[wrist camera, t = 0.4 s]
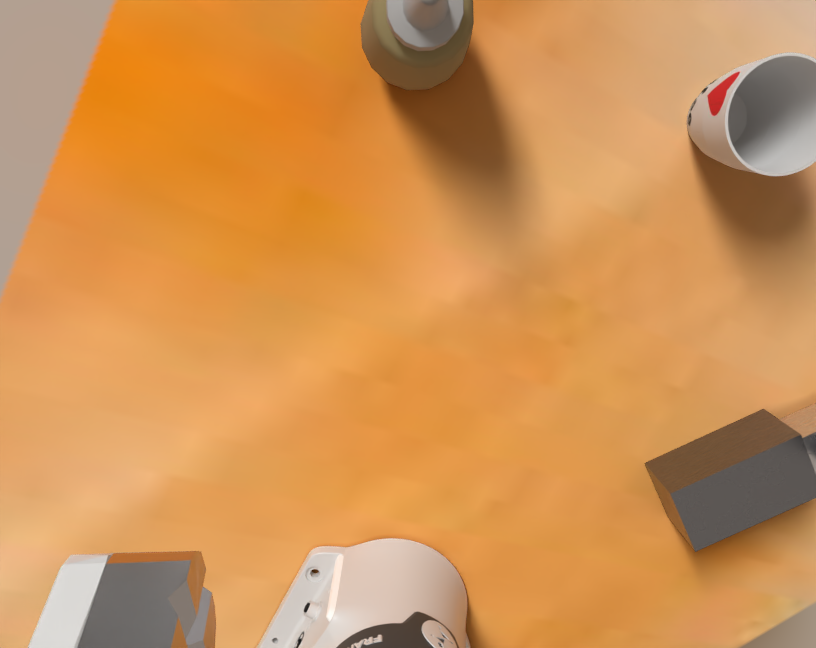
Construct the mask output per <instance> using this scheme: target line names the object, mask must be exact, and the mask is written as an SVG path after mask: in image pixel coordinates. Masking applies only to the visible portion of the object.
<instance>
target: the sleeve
mask: <svg viewBox="0 0 816 648" xmlns="http://www.w3.org/2000/svg"><path fill="white" fill-rule="evenodd" d="M645 466H646V468H647V470H648V472H649V475H650V477H651V479H652V482H653V484H654V486H655V488H656V491H657V493H658V495H659V498H660V500H661V502H662V505H663V507H664V509H665V511H666V514H667V516H668V518H669V519H670V520H671V521H672V523H673V524H674V525H675V527H676V528H677V529H678V530H679V532H680V533H681V534H682V535H683V537H684V538H685V539H686V541H687V542H688V543H689V544H690V546H691V547H692V548H693V549H694V551H695V552H696V551H698V550H700V549H702V548H705V547H707V546H709V545H711V544H714V543H716V542H718V541H720V540H722V539H725V538H727V537H729V536H731V535H734V534H736V533H738V532H740V531H743V530H745V529H747V528H749V527H752V526H754V525H756V524H758V523H761V522H763V521H765V520H767V519H770V518H772V517H774V516H776V515H778V514H781V513H783V512H785V511H787V510H790V509H792V508H794V507H796V506H799V505H801V504H803V503H805V502H808V501H810V500H812V499H814V498H816V473H815V470H814V468H813V465H812V462H811V460H810V457H809V454H808V452H807V449H806V446H805V444H804V441H803V438H802V436H801V434H800V433H798V432H797V431H795V430H794V429H792V428H791V427H789V426H788V425H786V424H785V423H783V422H782V421H781V420H779V419H778V418H776V417H775V416H773V415H772V414H770V413H769V412H767V411H766V410H764V409H762V410H760V411H758V412H756V413H754V414H751V415H749V416H747V417H745V418H743V419H740V420H738V421H736V422H734V423H732V424H729V425H727V426H725V427H723V428H721V429H719V430H716V431H714V432H712V433H710V434H708V435H705V436H703V437H701V438H699V439H697V440H694V441H692V442H690V443H688V444H686V445H684V446H681V447H679V448H677V449H675V450H673V451H670V452H668V453H666V454H664V455H662V456H659V457H657V458H655V459H653V460H651V461H649V462H646V463H645Z"/></svg>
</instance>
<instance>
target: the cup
mask: <svg viewBox="0 0 816 648" xmlns="http://www.w3.org/2000/svg"><path fill="white" fill-rule="evenodd" d="M687 129H688V133H689V135H690V137H691V139H692V140H693V142H694V143H695V144H696V145H697V146H698V148H699V149H700V150H701V151H702V152H703V153H704V154H706V155H707V156H709V157H710V158H712V159H714V160H717V161H719V162H721V163H723V164H725V165H727V166H729V167H732V168H735V169H739V170H743V171H748V172H753V173H758V174H763V175H768V176H785V175H790V174H793V173H796V172H799V171H801V170H803V169H805V168H807V167H809V166H810V165H812V164H813V163H814V162H816V59H815V58H813V57H810V56H808V55H805V54H800V53H781V54H776V55H773V56H770V57H767V58H764V59H761V60H758V61H755V62H752V63H749V64H746V65H743V66H740V67H738V68H736V69H734V70H732V71H730V72H729V73H727V74H725V75H723V76H722V77H720V78H718V79H717V80H715V81H713V82H712V83H710V84H709V85H708V86H707V87H706V88H705V89H704V90H703V91H702V92H701V93H700V94H699V96H698V97H697V98H696V99H695V101H694V102H693V103H692V105H691V107H690V109H689V112H688V116H687Z"/></svg>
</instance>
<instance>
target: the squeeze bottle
mask: <svg viewBox="0 0 816 648" xmlns="http://www.w3.org/2000/svg"><path fill="white" fill-rule="evenodd" d="M472 28H473V0H369V1H368V3H367V6H366V9H365V12H364V15H363V19H362V22H361V37H362V48H363V50H364V52H365V54H366V57H367V59H368V61H369V63H370V65H371V67H372V68H373V69H374V70H375V71H376V72H377V73H378V74H379V75H380V76H381V77H382V78H383V79H384V80H385V81H386V82H387V83H390V84H392V85H395V86H398V87H400V88H403V89H405V90H424V89H430V88H432V87H434V86H436V85H438V84H440V83H442V82H445V81H447V80H448V79H449V78H450V77H451V76H452V75H453V73H454V72H455V71H456V70H457V69H458V68H459V67H460V65H461V64H462V63H463V60H464V57H465V54H466V52H467V49H468V46H469V43H470V39H471V34H472Z"/></svg>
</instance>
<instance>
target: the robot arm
mask: <svg viewBox="0 0 816 648" xmlns="http://www.w3.org/2000/svg"><path fill="white" fill-rule="evenodd" d="M313 569H317V570H318V571H319V572H318V573H313V572H312V571H311V570H313ZM205 572H206V567H205V564H204V560H203V557H202V553H201V552H199V551H185V552H140V553H107V554H79V555H70V557H69V558H68V559H67V560H66V562H65V563H64V564H63V565H62V566H61V568H60V570H59V572H58V575H57V577H56V580H55V582H54V585H53V587H52V589H51V592H50V594H49V597H48V599H47V602H46V604H45V607H44V609H43V612H42V614H41V616H40V619H39V621H38V624H37V626H36V629H35V631H34V634H33V636H32V638H31V641H30V643H29V646H28V648H215V634H216V616H215V605H214V601H213V596H212V593H211V592H210V591H209V590H207V589H206V588H204V587H203V583H204V577H205ZM466 617H467V594H466V589H465V586H464V583H463V581H462V579H461V577H460V575H459V573H458V572H457V570H456V569H455V567H454V566H453V565H452V564H451V563H450V562H449V561H448V560H447V559H446V558H445V557H444V556H443V555H441V554H440V553H439V552H437V551H436V550H434V549H432V548H430V547H428V546H426V545H424V544H421V543H418V542H415V541H411V540H405V539H394V538H389V539H378V540H373V541H368V542H365V543H362V544H359V545H355V546H351V547H336V546H320V547H316V548H314V549H312V550H311V551H310V553H309V554H308V556H307V557H306V559H305V561H304V563H303V565H302V567H301V568H300V570H299V572H298V574H297V576H296V577H295V579H294V581H293V583H292V585H291V586H290V588H289V590H288V592H287V594H286V595H285V597H284V599H283V601H282V603H281V604H280V606H279V608H278V610H277V612H276V614H275V615H274V617H273V619H272V621H271V623H270V624H269V626H268V628H267V630H266V632H265V633H264V635H263V637H262V639H261V641H260V642H259V644H258V646H257V648H471V646H470V642H469V639H468V636H467V634H466Z"/></svg>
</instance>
